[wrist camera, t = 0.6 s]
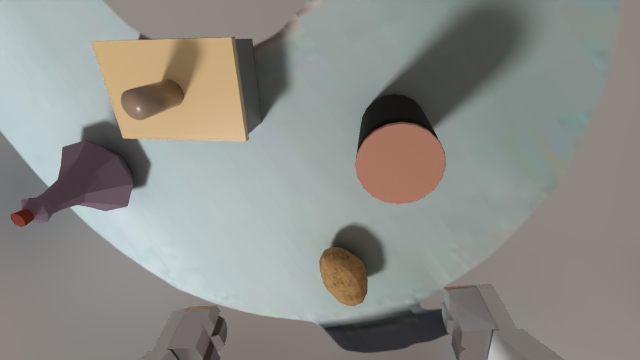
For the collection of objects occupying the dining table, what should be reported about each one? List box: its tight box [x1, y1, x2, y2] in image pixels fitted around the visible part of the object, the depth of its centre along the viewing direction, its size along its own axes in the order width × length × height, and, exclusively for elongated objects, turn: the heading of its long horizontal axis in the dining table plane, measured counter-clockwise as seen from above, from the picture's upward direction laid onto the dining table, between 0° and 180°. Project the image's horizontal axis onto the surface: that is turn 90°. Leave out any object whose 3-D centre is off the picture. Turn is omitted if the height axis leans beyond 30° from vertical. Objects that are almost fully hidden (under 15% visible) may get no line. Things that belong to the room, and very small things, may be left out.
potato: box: [320, 247, 367, 306], centre depth 64 cm, size 10×14×8 cm
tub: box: [235, 39, 262, 134], centre depth 52 cm, size 14×21×8 cm, turn 91°
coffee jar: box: [355, 94, 446, 204], centre depth 45 cm, size 11×11×18 cm
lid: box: [91, 37, 249, 142], centre depth 45 cm, size 15×22×11 cm
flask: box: [11, 140, 133, 227], centre depth 58 cm, size 16×16×20 cm
